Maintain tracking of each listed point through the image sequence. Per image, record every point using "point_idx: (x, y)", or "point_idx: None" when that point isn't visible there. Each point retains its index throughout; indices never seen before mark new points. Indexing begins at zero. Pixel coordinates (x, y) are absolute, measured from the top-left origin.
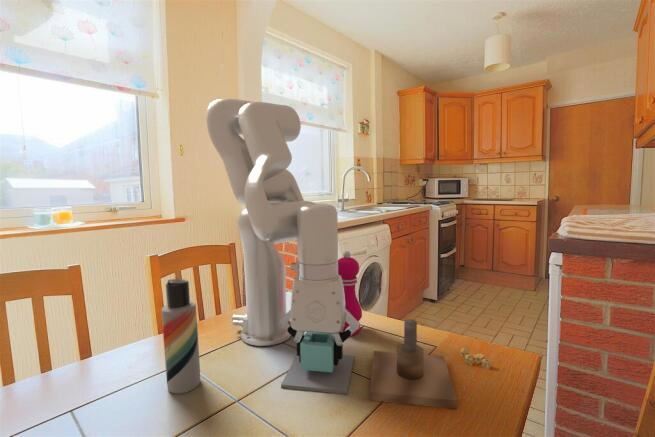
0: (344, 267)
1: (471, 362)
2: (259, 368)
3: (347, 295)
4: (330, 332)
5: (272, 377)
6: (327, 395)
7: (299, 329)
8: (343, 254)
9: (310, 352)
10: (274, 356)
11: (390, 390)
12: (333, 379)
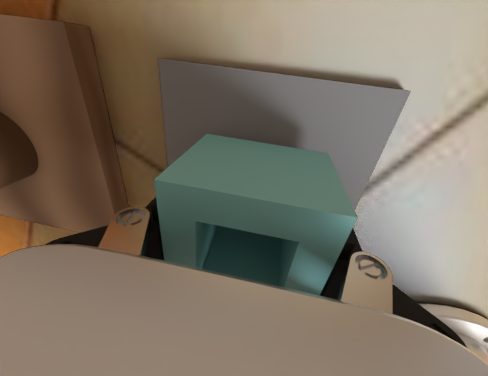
0: None
1: None
2: (471, 206)
3: None
4: (105, 252)
5: (429, 155)
6: (226, 46)
7: (404, 329)
8: None
9: (288, 180)
10: (403, 258)
11: (6, 37)
12: (212, 127)
